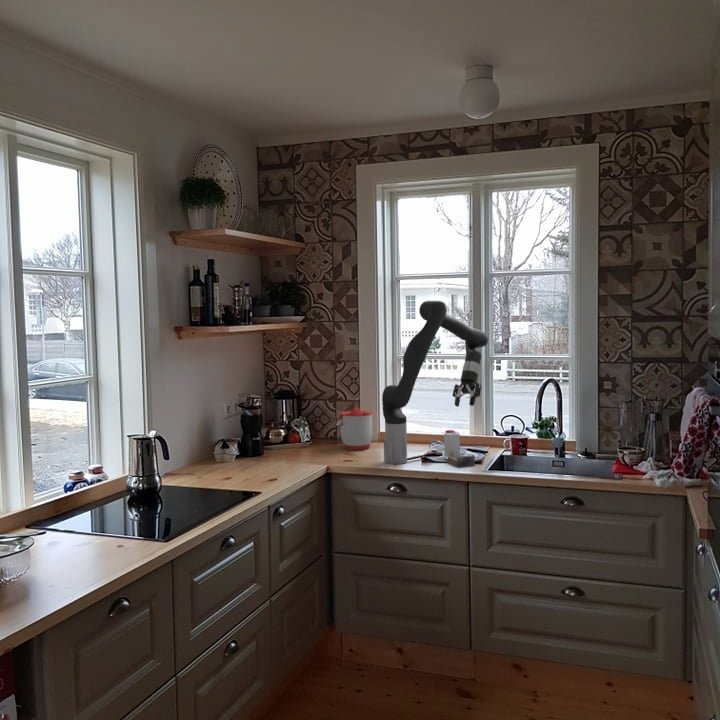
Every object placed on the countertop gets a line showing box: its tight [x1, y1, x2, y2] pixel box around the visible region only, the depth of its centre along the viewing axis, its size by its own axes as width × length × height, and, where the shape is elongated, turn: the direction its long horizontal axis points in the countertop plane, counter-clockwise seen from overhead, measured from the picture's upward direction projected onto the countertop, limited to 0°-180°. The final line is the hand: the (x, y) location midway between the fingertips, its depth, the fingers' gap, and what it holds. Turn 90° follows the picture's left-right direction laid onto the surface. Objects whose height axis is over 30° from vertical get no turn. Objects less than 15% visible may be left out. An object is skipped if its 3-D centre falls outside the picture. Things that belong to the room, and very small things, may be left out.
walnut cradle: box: [447, 455, 476, 468], centre depth 304 cm, size 8×9×4 cm
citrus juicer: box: [336, 406, 373, 451], centre depth 342 cm, size 16×17×20 cm
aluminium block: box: [443, 432, 461, 457], centre depth 316 cm, size 5×5×11 cm
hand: (463, 405), depth 326 cm, fingers open, 8 cm apart
